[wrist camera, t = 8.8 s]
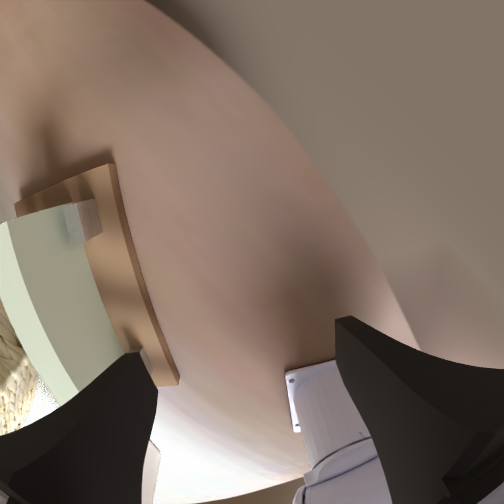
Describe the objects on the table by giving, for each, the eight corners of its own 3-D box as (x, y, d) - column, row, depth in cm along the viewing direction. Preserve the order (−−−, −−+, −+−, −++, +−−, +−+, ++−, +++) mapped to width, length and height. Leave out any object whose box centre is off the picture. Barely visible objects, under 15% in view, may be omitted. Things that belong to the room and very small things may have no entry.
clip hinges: (153, 369, 20) (146, 389, 18) (88, 371, 20) (78, 388, 18) (95, 198, 16) (76, 202, 14) (29, 222, 16) (10, 229, 14)
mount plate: (180, 376, 22) (178, 385, 21) (90, 379, 22) (86, 386, 20) (115, 163, 17) (107, 163, 15) (22, 201, 16) (14, 203, 15)
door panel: (131, 368, 20) (105, 429, 13) (103, 369, 20) (74, 424, 13) (72, 202, 16) (6, 221, 9) (44, 212, 16) (-20, 234, 9)
